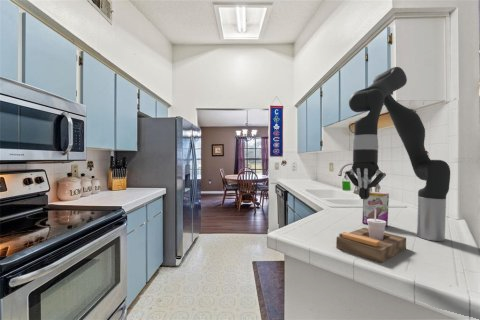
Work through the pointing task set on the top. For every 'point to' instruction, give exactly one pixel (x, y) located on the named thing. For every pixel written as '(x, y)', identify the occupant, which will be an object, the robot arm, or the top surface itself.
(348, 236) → the bar
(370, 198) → the candy bar box
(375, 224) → the smoothie
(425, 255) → the top surface
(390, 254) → the socket block
